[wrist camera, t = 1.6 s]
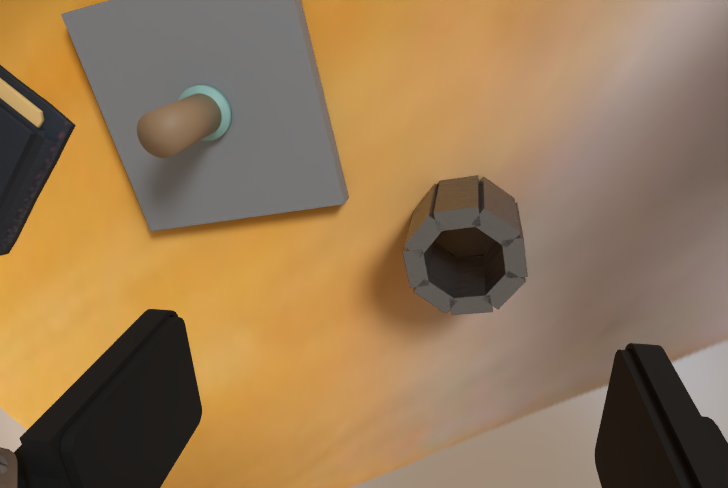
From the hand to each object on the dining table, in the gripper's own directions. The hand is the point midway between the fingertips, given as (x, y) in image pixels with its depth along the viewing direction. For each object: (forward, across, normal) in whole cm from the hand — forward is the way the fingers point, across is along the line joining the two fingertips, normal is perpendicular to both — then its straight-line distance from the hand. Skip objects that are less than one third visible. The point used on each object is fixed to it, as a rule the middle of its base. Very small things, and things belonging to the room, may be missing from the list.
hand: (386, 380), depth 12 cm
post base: (+22, +14, -2) cm, 26 cm away
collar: (+22, -2, +6) cm, 23 cm away
